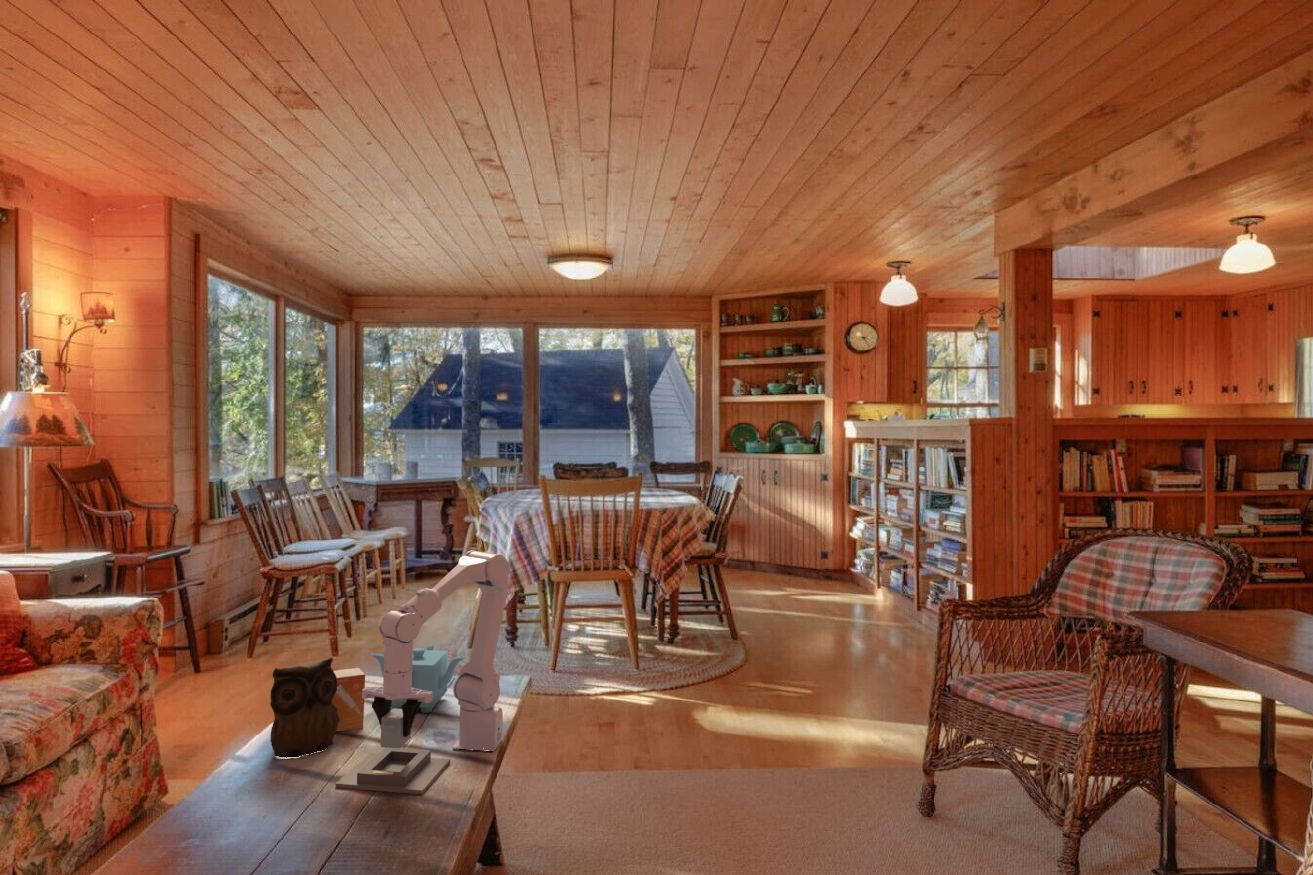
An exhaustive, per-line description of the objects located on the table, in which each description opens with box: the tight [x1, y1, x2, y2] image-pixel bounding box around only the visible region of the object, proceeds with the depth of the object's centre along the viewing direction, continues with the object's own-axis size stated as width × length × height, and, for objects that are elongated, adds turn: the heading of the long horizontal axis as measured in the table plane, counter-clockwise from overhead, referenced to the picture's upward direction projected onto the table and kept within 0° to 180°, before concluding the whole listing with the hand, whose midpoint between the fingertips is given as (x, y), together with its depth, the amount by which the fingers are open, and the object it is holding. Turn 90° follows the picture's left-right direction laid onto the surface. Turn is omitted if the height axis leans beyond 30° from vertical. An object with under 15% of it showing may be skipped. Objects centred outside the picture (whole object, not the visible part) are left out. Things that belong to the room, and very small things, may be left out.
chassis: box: [335, 747, 451, 795], centre depth 177 cm, size 18×16×3 cm
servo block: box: [379, 707, 412, 748], centre depth 177 cm, size 4×9×6 cm, turn 174°
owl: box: [269, 657, 340, 758], centre depth 187 cm, size 13×13×20 cm
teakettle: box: [370, 642, 467, 714], centre depth 220 cm, size 19×19×15 cm
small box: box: [332, 667, 366, 733], centre depth 203 cm, size 8×6×13 cm
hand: (396, 734), depth 177 cm, fingers closed on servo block, 4 cm apart
